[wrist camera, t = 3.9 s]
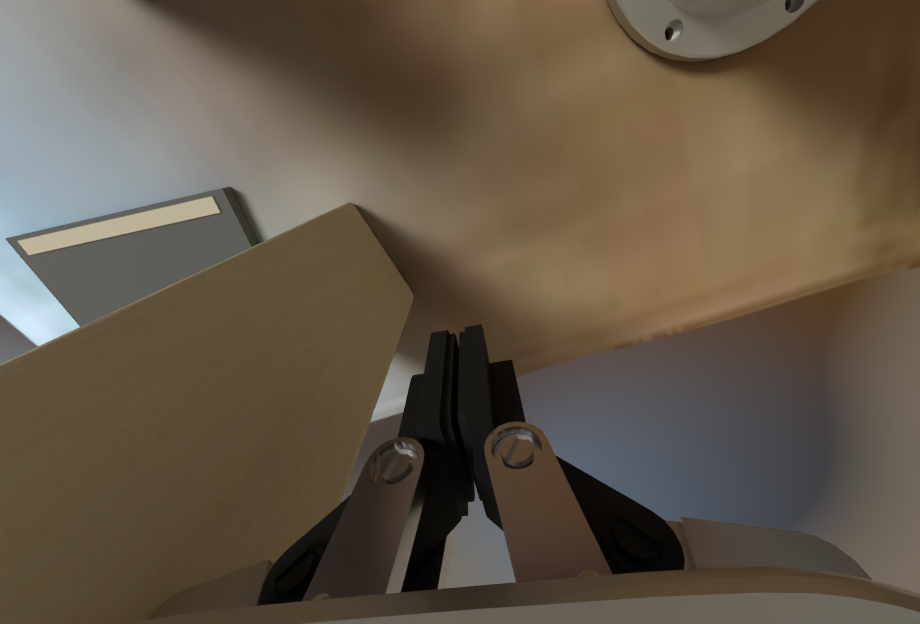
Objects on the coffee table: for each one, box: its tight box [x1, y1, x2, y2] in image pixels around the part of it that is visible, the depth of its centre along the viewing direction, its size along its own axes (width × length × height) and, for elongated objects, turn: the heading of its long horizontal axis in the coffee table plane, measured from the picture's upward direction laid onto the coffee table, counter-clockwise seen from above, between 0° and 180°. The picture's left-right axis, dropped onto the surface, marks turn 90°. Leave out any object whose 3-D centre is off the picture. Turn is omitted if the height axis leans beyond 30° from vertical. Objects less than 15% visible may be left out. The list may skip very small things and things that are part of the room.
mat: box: [6, 187, 258, 327], centre depth 24 cm, size 16×14×1 cm
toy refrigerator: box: [0, 202, 414, 624], centre depth 14 cm, size 8×7×21 cm
